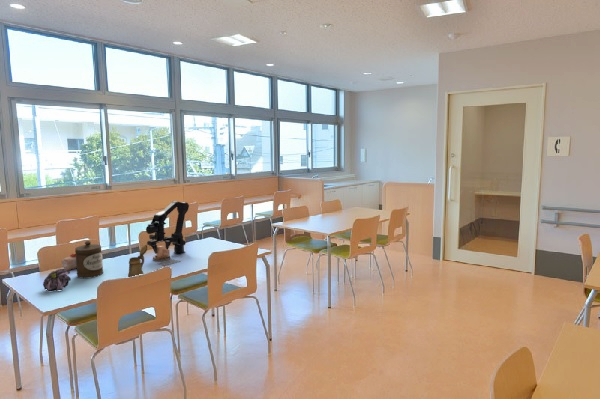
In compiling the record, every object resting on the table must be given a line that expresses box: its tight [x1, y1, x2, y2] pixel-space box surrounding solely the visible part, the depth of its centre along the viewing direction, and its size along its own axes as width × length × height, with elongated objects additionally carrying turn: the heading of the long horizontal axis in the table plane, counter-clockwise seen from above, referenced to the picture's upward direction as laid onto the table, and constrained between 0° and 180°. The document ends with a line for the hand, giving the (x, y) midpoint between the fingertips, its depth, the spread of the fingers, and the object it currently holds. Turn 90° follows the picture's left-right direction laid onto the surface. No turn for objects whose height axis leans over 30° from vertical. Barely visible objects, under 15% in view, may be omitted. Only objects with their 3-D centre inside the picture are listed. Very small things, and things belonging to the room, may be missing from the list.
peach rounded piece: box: [155, 245, 171, 258], centre depth 290 cm, size 12×7×9 cm, turn 54°
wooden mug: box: [127, 244, 148, 278], centre depth 256 cm, size 9×14×18 cm, turn 142°
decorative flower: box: [42, 268, 72, 292], centre depth 232 cm, size 15×12×15 cm
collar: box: [152, 254, 171, 262], centre depth 292 cm, size 12×12×2 cm
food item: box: [61, 253, 77, 271], centre depth 271 cm, size 14×8×10 cm, turn 139°
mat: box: [157, 259, 182, 267], centre depth 282 cm, size 13×9×1 cm
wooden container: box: [75, 240, 104, 279], centre depth 256 cm, size 15×15×22 cm
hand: (161, 252), depth 291 cm, fingers open, 9 cm apart
